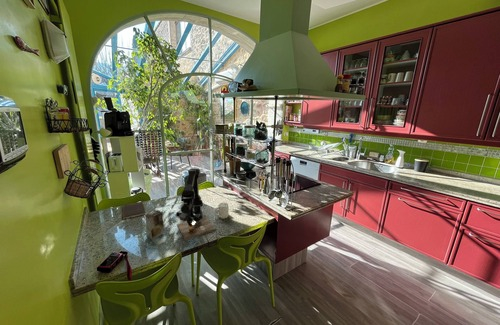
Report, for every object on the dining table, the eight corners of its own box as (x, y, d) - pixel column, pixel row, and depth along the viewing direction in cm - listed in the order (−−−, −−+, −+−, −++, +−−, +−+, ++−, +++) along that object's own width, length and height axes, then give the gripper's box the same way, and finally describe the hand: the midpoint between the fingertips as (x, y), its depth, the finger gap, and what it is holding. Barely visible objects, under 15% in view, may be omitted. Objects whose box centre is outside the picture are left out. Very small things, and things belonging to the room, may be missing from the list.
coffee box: (160, 229, 145) (158, 209, 141) (164, 233, 142) (162, 212, 137) (147, 235, 139) (144, 214, 134) (151, 239, 135) (149, 217, 131)
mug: (215, 220, 159) (214, 208, 157) (212, 215, 167) (212, 204, 164) (229, 217, 164) (229, 206, 161) (226, 213, 171) (226, 201, 169)
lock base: (177, 226, 151) (177, 224, 150) (205, 217, 163) (205, 216, 162) (185, 240, 135) (185, 238, 134) (215, 230, 147) (215, 228, 146)
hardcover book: (143, 204, 185) (142, 201, 184) (145, 215, 166) (145, 212, 166) (122, 208, 177) (122, 205, 176) (122, 220, 158) (122, 217, 157)
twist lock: (196, 220, 156) (196, 215, 155) (202, 220, 155) (202, 215, 154) (186, 231, 141) (186, 225, 140) (193, 232, 140) (193, 226, 139)
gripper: (170, 208, 136) (171, 228, 140) (193, 214, 130) (193, 235, 134) (181, 201, 147) (181, 220, 151) (202, 207, 140) (203, 226, 144)
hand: (189, 226), depth 145 cm, fingers closed
